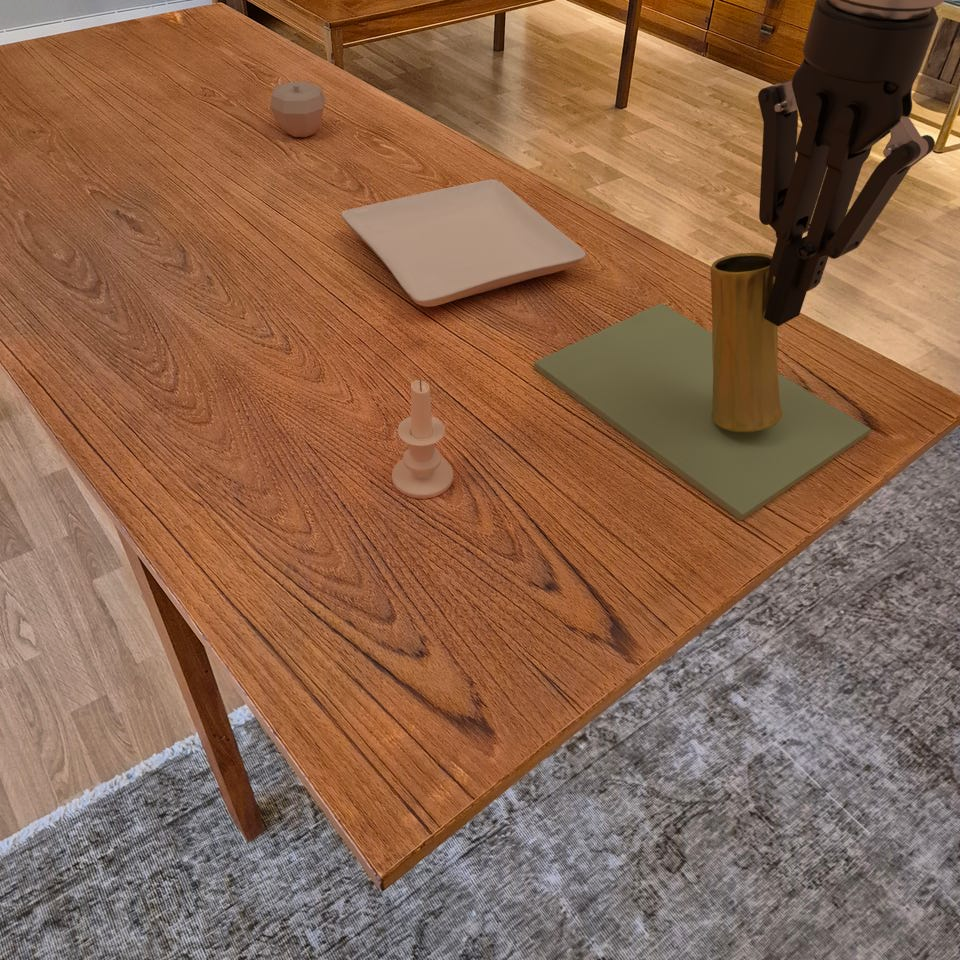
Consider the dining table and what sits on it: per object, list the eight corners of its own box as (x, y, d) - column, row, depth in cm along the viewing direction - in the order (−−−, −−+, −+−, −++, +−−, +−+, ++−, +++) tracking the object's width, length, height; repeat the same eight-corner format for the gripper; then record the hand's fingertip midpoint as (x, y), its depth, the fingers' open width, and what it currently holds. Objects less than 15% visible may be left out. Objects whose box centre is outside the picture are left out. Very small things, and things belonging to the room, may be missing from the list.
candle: (463, 467, 77) (464, 370, 70) (437, 506, 73) (435, 408, 66) (409, 450, 78) (404, 353, 71) (381, 488, 75) (373, 390, 67)
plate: (588, 279, 100) (592, 251, 97) (418, 328, 92) (417, 300, 89) (494, 200, 113) (495, 174, 110) (339, 237, 105) (336, 210, 103)
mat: (868, 435, 81) (871, 428, 81) (740, 521, 73) (742, 514, 72) (659, 308, 96) (661, 302, 95) (533, 368, 87) (534, 361, 87)
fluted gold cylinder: (742, 396, 83) (739, 247, 77) (797, 414, 79) (799, 256, 72) (697, 421, 81) (689, 268, 74) (751, 440, 76) (748, 279, 69)
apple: (267, 125, 128) (260, 78, 123) (320, 118, 130) (315, 71, 126) (281, 147, 123) (275, 99, 118) (336, 139, 125) (332, 91, 121)
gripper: (758, -16, 58) (690, 296, 74) (939, 41, 51) (819, 372, 67) (828, -34, 61) (748, 268, 78) (1007, 17, 54) (877, 338, 70)
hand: (781, 316), depth 72 cm, fingers closed
